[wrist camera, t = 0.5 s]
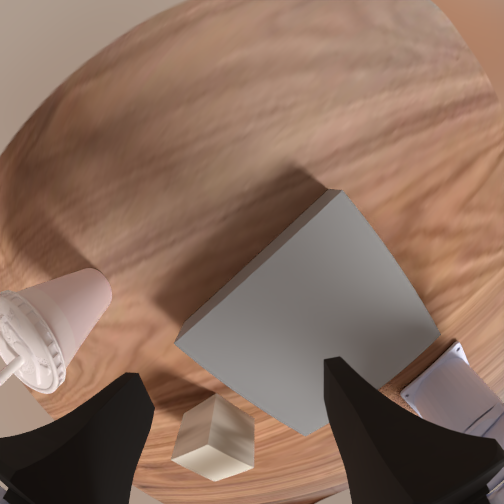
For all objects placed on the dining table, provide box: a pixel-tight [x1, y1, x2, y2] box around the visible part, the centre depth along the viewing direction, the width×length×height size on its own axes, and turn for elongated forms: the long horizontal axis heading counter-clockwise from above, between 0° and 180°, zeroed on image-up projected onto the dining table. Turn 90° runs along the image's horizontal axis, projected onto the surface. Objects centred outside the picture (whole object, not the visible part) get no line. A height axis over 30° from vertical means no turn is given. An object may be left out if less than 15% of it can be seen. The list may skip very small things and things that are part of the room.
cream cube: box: [171, 393, 254, 481], centre depth 19 cm, size 5×5×6 cm
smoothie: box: [0, 268, 112, 394], centre depth 12 cm, size 6×6×14 cm
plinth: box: [174, 189, 441, 436], centre depth 18 cm, size 14×14×3 cm
